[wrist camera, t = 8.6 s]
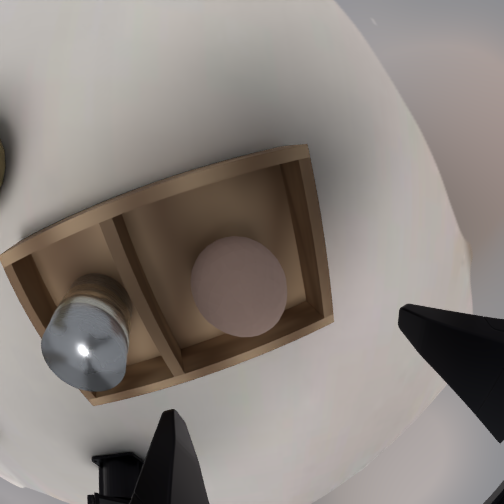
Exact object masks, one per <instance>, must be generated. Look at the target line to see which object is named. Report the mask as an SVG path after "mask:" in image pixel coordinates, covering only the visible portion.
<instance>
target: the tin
mask: <svg viewBox="0 0 504 504" xmlns="http://www.w3.org/2000/svg"><path fill="white" fill-rule="evenodd" d="M131 317H132V303H131V299H130V297H129V295H128V293H127V291H126V290H125V288H124V287H123V286H122V285H121V284H120V283H119V282H118V281H116V280H115V279H113V278H111V277H109V276H107V275H103V274H98V273H91V274H86V275H83V276H81V277H79V278H78V279H77V280H76V281H75V282H74V283H73V284H72V285H71V287H70V289H69V290H68V292H67V293H66V294H65V295H64V297H63V299H62V300H61V302H60V304H59V305H58V307H57V309H56V310H55V312H54V314H53V316H52V318H51V321H50V323H49V325H48V326H47V328H46V330H45V332H44V334H43V337H42V341H41V348H42V353H43V356H44V359H45V361H46V363H47V365H48V366H49V368H50V369H51V370H52V371H53V372H54V373H55V374H56V375H57V376H58V377H59V378H60V379H61V380H63V381H64V382H66V383H67V384H69V385H71V386H73V387H75V388H78V389H81V390H85V391H91V392H100V391H106V390H109V389H111V388H114V387H115V386H117V385H118V384H119V383H120V382H121V381H122V379H123V377H124V375H125V372H126V361H127V354H128V349H129V339H130V330H131Z"/></svg>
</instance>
